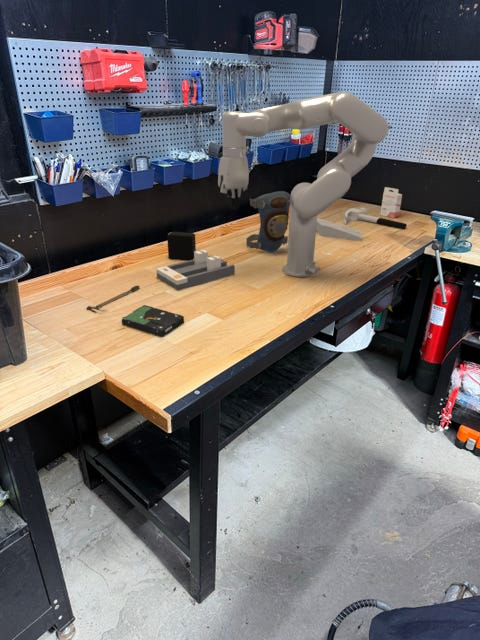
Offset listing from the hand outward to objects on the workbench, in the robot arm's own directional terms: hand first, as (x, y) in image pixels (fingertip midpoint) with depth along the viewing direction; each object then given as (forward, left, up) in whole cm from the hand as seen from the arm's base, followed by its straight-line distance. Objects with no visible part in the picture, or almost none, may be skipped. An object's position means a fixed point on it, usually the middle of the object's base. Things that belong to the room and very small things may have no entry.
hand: (233, 208), depth 157 cm
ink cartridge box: (+14, -115, -23) cm, 118 cm away
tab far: (+8, +9, -21) cm, 24 cm away
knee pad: (+12, -27, -23) cm, 38 cm away
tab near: (0, +9, -21) cm, 23 cm away
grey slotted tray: (+4, +14, -23) cm, 27 cm away
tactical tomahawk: (+2, +45, -24) cm, 51 cm away
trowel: (+8, -67, -24) cm, 71 cm away
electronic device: (+23, +8, -23) cm, 34 cm away
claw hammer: (+9, -95, -24) cm, 99 cm away
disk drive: (-19, +44, -24) cm, 53 cm away
